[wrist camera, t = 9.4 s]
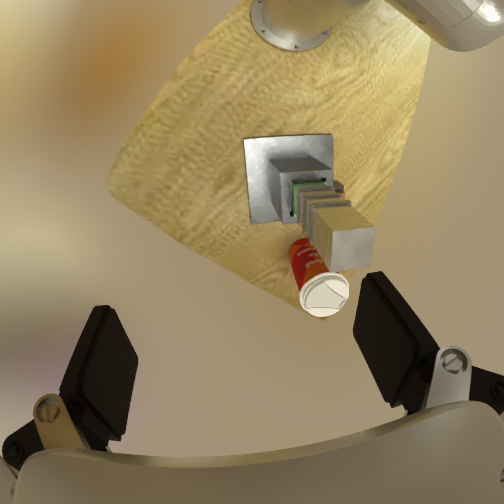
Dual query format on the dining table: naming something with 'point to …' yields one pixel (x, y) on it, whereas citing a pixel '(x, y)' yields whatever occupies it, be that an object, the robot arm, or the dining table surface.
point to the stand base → (284, 172)
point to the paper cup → (317, 281)
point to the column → (331, 224)
